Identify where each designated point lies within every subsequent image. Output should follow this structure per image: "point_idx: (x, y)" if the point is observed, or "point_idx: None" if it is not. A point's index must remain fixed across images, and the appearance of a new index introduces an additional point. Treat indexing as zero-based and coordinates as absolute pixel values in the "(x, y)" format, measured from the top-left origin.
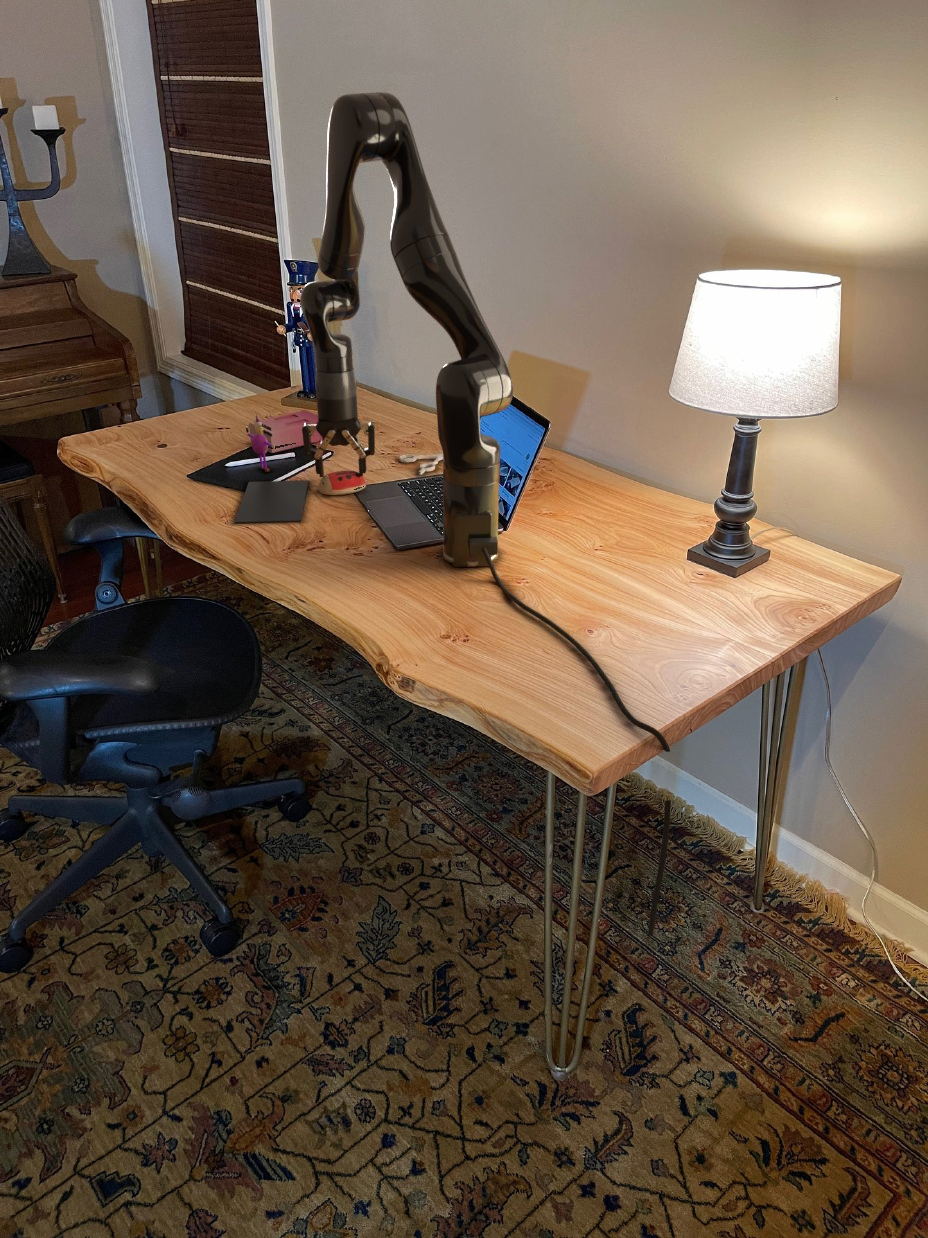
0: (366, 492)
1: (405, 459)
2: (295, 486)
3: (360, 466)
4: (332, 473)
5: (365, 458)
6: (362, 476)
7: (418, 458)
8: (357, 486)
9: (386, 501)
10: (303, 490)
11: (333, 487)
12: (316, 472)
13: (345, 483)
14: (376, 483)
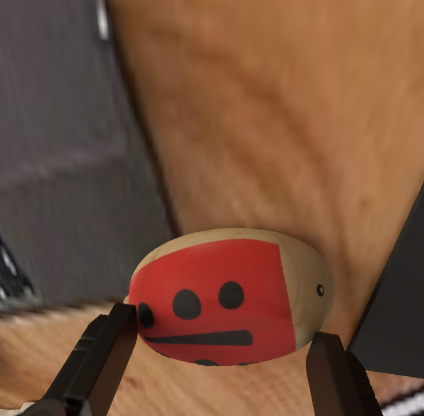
0: (134, 244)
1: None
2: (408, 335)
3: (101, 348)
4: (265, 349)
5: (42, 398)
6: None
7: (14, 411)
8: (157, 257)
9: (37, 138)
10: (389, 298)
11: (271, 252)
12: (358, 361)
13: (208, 265)
14: (106, 307)
